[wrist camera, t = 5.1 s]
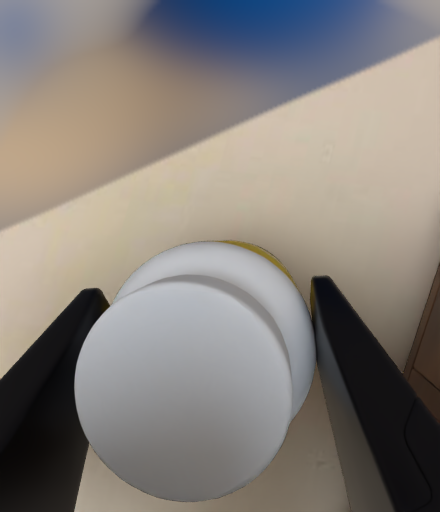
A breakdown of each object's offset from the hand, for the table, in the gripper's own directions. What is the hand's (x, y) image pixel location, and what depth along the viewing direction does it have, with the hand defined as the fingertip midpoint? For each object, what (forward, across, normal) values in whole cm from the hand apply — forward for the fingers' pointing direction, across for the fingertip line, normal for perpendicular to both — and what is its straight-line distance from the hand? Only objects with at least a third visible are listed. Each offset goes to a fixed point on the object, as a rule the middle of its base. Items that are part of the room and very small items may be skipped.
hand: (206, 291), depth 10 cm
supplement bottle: (+4, 0, +6) cm, 7 cm away
